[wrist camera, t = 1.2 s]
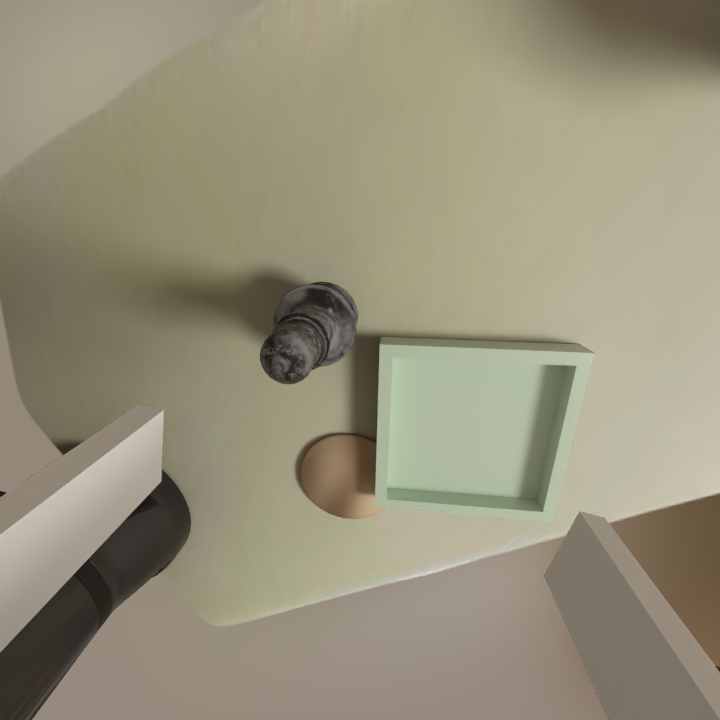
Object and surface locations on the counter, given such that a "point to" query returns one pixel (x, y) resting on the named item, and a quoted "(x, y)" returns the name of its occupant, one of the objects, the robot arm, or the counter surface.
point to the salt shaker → (309, 331)
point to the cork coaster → (342, 475)
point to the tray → (477, 425)
